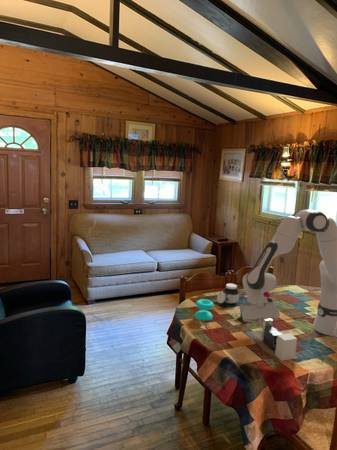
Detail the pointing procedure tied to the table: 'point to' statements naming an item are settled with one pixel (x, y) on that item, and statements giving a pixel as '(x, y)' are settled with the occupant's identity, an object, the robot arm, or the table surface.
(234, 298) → the spread jar
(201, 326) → the cell phone
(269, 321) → the tube
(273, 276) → the robot arm
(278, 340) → the socket
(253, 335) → the base board
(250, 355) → the table surface
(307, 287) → the table surface
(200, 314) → the donuts
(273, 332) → the sleeve
